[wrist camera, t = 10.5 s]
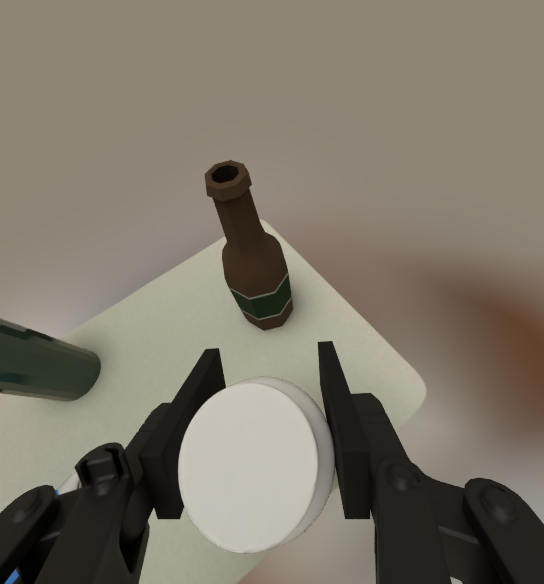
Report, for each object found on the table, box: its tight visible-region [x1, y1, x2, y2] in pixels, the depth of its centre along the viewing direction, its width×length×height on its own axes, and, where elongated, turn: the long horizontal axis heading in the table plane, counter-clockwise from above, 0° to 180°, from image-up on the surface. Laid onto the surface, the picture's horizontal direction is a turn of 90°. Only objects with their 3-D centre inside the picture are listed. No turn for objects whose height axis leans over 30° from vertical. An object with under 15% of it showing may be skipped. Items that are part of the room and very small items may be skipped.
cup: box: [0, 318, 100, 401], centre depth 32 cm, size 7×7×15 cm
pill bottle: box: [178, 377, 335, 554], centre depth 11 cm, size 5×5×10 cm
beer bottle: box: [205, 160, 293, 330], centre depth 29 cm, size 8×8×24 cm
